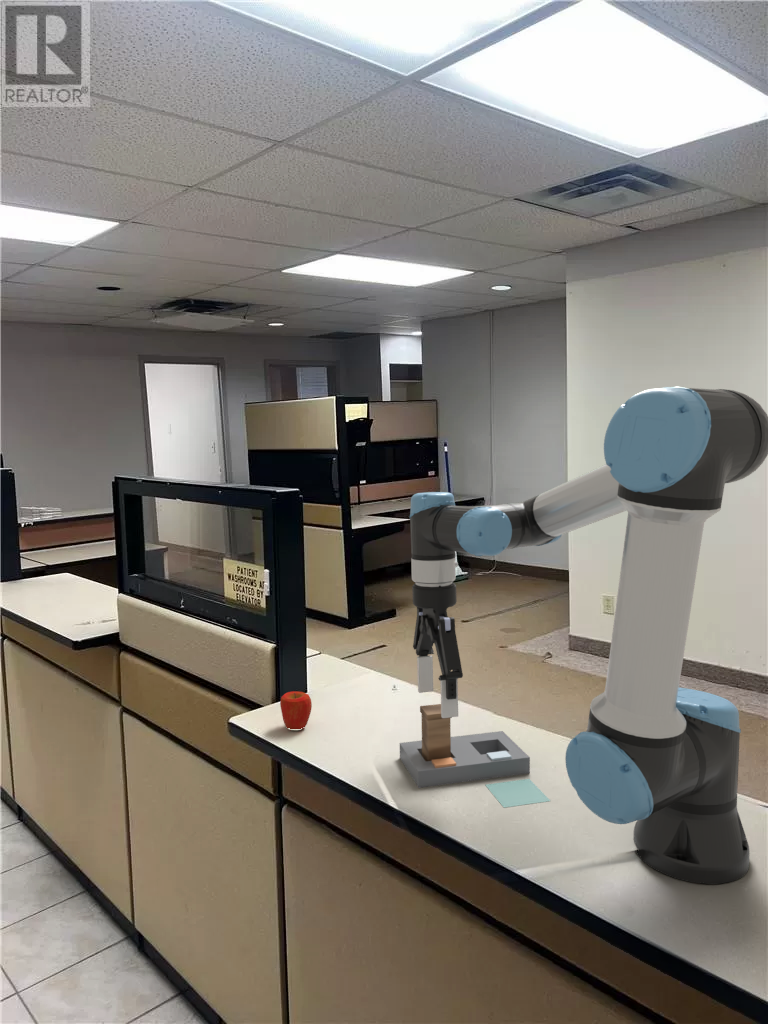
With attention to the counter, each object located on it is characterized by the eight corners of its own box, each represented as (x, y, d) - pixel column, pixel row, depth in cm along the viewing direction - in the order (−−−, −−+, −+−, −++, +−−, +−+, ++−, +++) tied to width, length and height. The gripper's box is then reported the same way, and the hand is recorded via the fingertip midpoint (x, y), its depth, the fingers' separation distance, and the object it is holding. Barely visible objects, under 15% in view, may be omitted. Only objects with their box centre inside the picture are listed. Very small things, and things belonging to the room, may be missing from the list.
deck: (550, 807, 118) (550, 800, 118) (503, 814, 117) (503, 807, 116) (529, 785, 126) (529, 778, 126) (485, 791, 124) (485, 784, 124)
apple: (315, 723, 155) (315, 689, 154) (305, 735, 149) (304, 699, 148) (287, 721, 157) (286, 687, 156) (276, 732, 151) (275, 697, 150)
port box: (529, 779, 128) (529, 755, 128) (418, 794, 124) (418, 769, 123) (502, 751, 140) (502, 728, 140) (399, 764, 135) (399, 740, 135)
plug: (452, 779, 129) (451, 712, 128) (428, 782, 128) (427, 714, 127) (444, 768, 133) (443, 703, 132) (420, 771, 132) (420, 706, 131)
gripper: (481, 593, 116) (483, 726, 118) (433, 570, 140) (435, 680, 142) (435, 597, 114) (438, 731, 116) (394, 573, 138) (397, 684, 140)
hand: (437, 703), depth 129 cm, fingers open, 13 cm apart
